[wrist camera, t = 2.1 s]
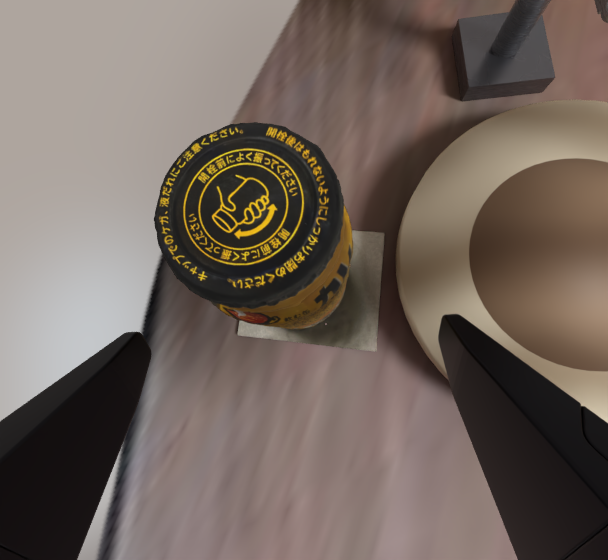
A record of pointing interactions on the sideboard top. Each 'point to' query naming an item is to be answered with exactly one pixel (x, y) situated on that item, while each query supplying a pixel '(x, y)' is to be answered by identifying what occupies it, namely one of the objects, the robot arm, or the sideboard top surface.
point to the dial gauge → (506, 51)
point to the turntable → (518, 243)
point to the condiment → (270, 238)
